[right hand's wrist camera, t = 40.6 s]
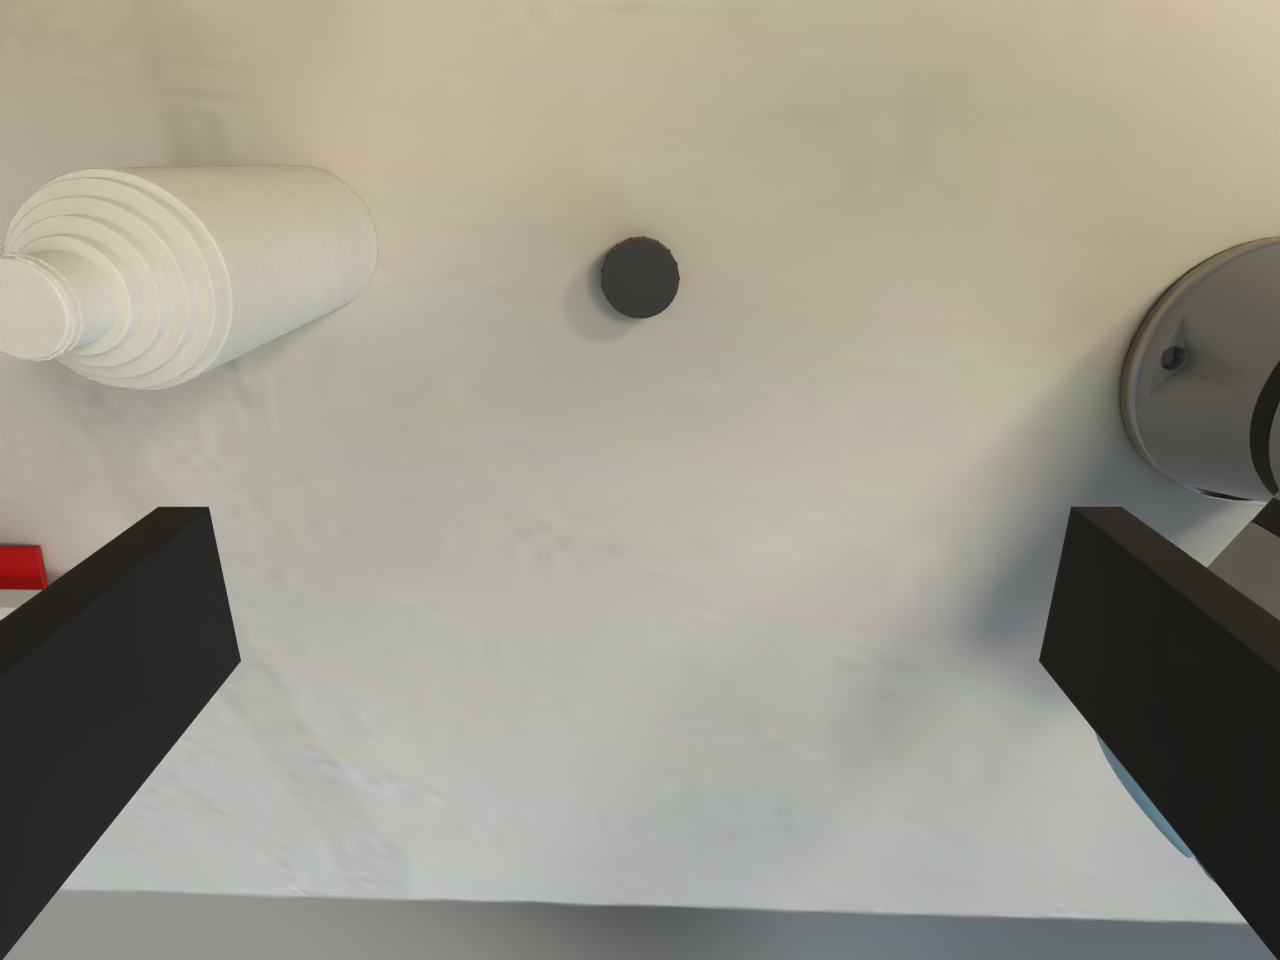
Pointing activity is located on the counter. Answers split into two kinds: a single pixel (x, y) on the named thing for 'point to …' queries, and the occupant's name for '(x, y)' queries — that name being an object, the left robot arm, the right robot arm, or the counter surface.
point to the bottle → (177, 267)
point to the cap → (640, 277)
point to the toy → (20, 576)
